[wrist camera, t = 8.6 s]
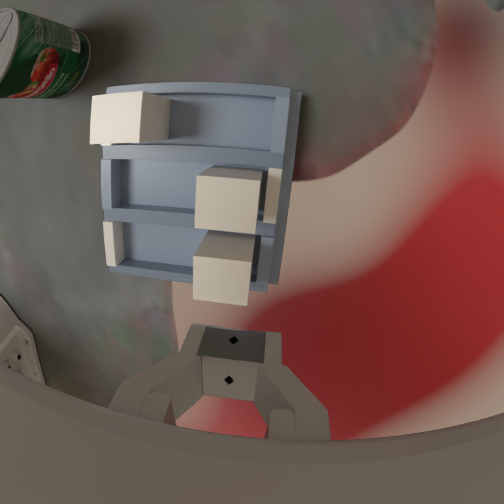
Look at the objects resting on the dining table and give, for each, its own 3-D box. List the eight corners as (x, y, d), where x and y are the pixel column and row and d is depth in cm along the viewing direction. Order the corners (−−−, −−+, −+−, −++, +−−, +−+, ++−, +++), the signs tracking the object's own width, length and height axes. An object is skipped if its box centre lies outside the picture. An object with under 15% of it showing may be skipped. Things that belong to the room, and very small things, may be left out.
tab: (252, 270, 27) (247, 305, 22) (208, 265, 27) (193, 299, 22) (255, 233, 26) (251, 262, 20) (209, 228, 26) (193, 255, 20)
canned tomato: (63, 112, 23) (-16, 116, 13) (27, 81, 22) (-45, 80, 12) (105, 46, 21) (33, 20, 11) (64, 20, 19) (-4, -2, 9)
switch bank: (277, 278, 29) (278, 295, 26) (113, 258, 29) (99, 272, 26) (300, 94, 22) (304, 88, 19) (112, 91, 23) (95, 88, 20)
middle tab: (258, 210, 25) (254, 234, 20) (211, 206, 25) (194, 227, 20) (262, 169, 24) (260, 180, 18) (213, 165, 24) (196, 175, 18)
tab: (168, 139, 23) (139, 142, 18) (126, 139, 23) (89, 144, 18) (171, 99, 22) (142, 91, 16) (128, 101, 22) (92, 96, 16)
